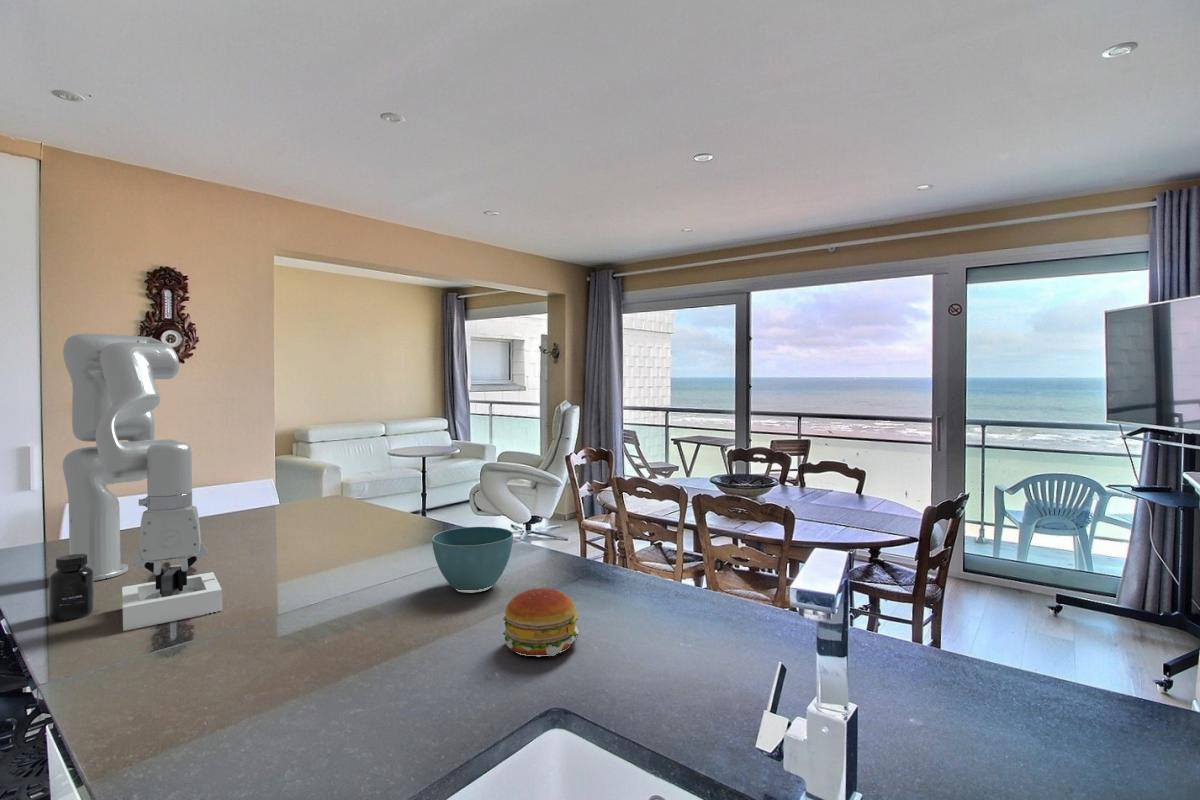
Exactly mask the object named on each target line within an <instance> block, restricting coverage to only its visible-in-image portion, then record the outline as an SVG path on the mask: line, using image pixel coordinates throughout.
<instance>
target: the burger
mask: <svg viewBox="0 0 1200 800" xmlns="http://www.w3.org/2000/svg"><path fill="white" fill-rule="evenodd" d="M578 617H579V614H577V612H576V606H575V603H574V602H573V600H572V599H571V598H570V597H569V596H568V595H567V594H565V593H564V592H562V591H560V590H557V589H556V590H555V589H553V588H552V589H551V588H545V587H540V588H538V587H537V588H532V589H528V590H525V591H522V592H520V593H518V594H517V595H515V596H514V597H512V598H511V599H510V601H509V602H508V604H507V605H506V606H505V611H504V617H503V618H502V620H503V621H504V629H505V630H504V632H502V634H503V635H504V641H505V645H506V646H507V647H508V648H509V650H510V649H512V650H513V651H515V652H518V653H521V654H526V655H549V657H550V656H554V655H556V654H558V653H559V652H560V651H563V650H565V649H567V648H568V647H569V646H570V647H571V646H572V645H573V643H574V642H575V641H578V639H579V632H580V631H579V629H578V625H576V624H577V621H578V620H579V619H578ZM576 635H577V636H576ZM571 644H572V645H571ZM512 650H511V651H512ZM513 651H512V652H513ZM558 655H559V654H558ZM556 656H557V655H556Z"/></svg>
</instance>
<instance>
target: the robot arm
mask: <svg viewBox="0 0 1200 800" xmlns="http://www.w3.org/2000/svg"><path fill="white" fill-rule="evenodd" d="M62 352H63V353H62V356H63V360H64V361H63V362H64V364H65V368H66V370H67V372H68V375H69V378H70V381H71V386H72V398H71V399H72V401H71V402H72V403H71V405H72V407H71V425H72V426H71V428H72V432H73V435H74V437H75V438H76V439H77V440H78V441H82V442H87V443H89V442H93V443H94V442H95V444H96V446H87V447H80V448H78V449H77V448H76V449H74V450H72V451H70V452H68V453H67V454H66V455H65V456H64V458H63V461H62V470H63V471H62V472H63V475H64V479H65V485H66V490H67V499H68V500H67V501H68V535H69V536H68V537H69V538H68V541H69V544H68V545H69V547H68V548H69V555H72V554H86V555H87V561H88V564H87V565H86V566H87V567H90V568H91V569H92V570H93V572H94V582H96V581H100V580H101V581H102V580H107V579H110V578H114V577H118V576H120V575H122V574H125V573H126V572H128V571H129V564H127V563H124V562H123V563H122V562H121V525H120V524H121V523H120V522H121V518H120V516H121V513H120V501H119V498H118V497H117V496H116V495H115V494H114V493H113V492H112V491H110V489H109V488H108V487H107V486H108V485H113V484H121V483H132V482H140V481H143V480H146V479H147V480H146V485H147V486H146V487H147V496H146V497H144V498H141V499H140V498H139V499H138V507H145V508H147V509H146V510H144V511H143V512H142V515H141V520H140V529H139V547H138V551H137V553H136V555H135V556H134V559H133V561H132V565H133V566H137V567H140V568H144V569H147V570H148V571H149V572H151V573H152V574H153V575H154V576H155V582H156V590H158V589H160V594H162V588H161V576H162V575H163V574H164V573H165V572H166V571H164V568H163V567H162V566H163V561H167V560H168V561H169V560H173V559H174V560H175V559H179V560H180V561H179V562H180V565H181V566H180V568H179V571H178V591H183V586H184V585H187V576H188V570H189V569H190V567H191V566H192V565H194V563H196V562H197V561H198V560H201V559H203V558H204V557H207V556H208V550H207V549H206V547H205V546H204V543H203V542H202V540H201V539H202V538H201V526H200V517H199V512H198V508H197V506H195V505H193V467H192V466H193V464H192V463H193V461H192V459H193V458H192V457H193V456H192V452H193V451H192V446H190V444H188V443H186V442H181V441H180V442H179V441H178V440H176V439H155V417H154V413H153V411H154V409H155V408H156V407H158V405H159V404H160V402H161V395H160V392H159V389H158V386H157V384H156V380H170V379H173V378H175V377H176V376H177V374H178V373H179V370H180V361H179V360H180V359H179V357H178V355H177V352H176V351H175V349H174V348H173V347H172V346H171V345H169V344H168V343H166V342H163V341H161V340H159V339H156V338H154V337H150V336H139V335H123V334H113V333H111V334H109V333H94V332H93V333H92V332H91V333H77V334H72V335H70V336H69V337H67V338H66V340H65V341H64V344H63V351H62ZM106 578H107V579H106Z"/></svg>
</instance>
